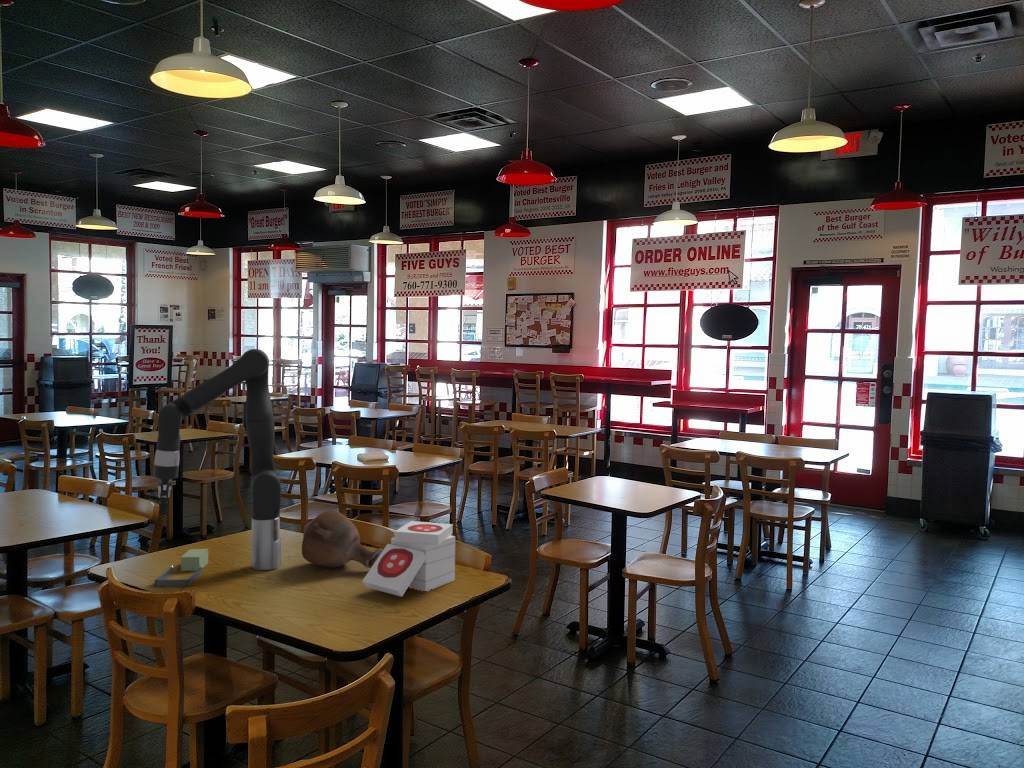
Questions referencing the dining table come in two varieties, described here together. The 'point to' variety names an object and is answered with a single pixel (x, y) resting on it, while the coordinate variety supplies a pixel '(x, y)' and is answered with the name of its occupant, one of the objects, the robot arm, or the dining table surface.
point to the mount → (176, 582)
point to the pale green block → (194, 559)
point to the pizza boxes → (415, 559)
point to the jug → (335, 542)
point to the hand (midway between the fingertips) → (162, 511)
